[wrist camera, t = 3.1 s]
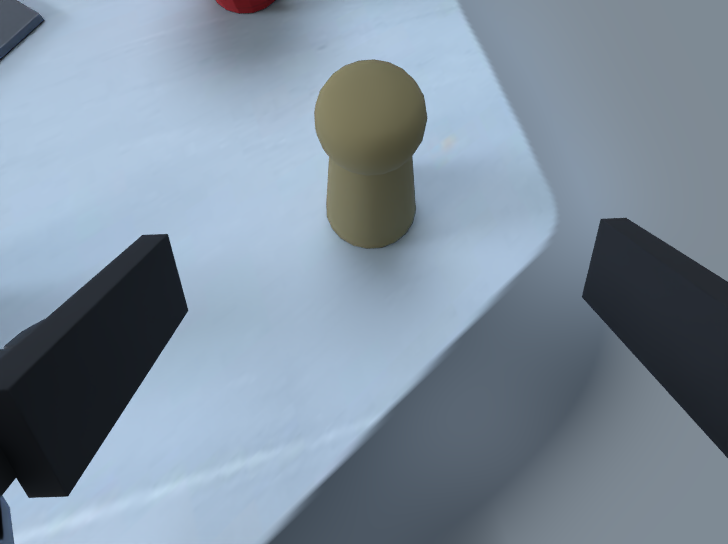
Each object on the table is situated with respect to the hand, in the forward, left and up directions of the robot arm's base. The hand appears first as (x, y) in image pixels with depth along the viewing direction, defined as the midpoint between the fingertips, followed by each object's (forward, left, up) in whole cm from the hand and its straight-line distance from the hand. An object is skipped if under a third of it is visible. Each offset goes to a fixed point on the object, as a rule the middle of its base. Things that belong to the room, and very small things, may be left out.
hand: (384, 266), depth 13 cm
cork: (+7, -5, -14) cm, 16 cm away
